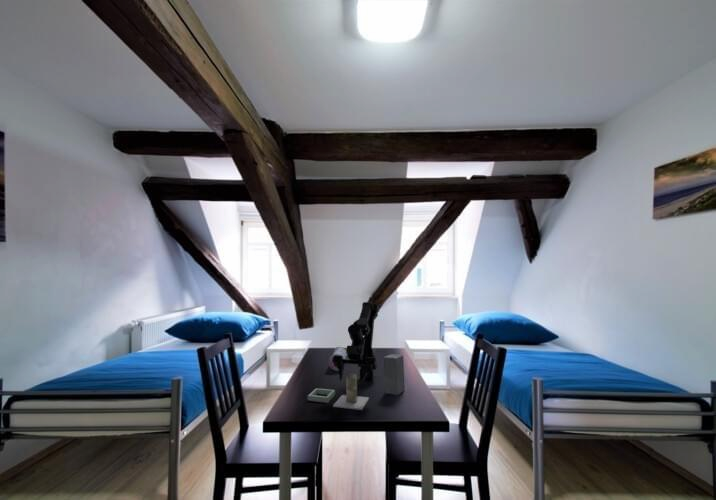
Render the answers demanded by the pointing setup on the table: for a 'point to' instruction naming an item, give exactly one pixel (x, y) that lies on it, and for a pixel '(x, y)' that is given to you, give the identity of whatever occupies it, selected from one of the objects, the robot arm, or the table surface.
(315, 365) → the table surface
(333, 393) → the green collar
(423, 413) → the table surface
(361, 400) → the rubber mat
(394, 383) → the skincare box
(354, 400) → the ash peg
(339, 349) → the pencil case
